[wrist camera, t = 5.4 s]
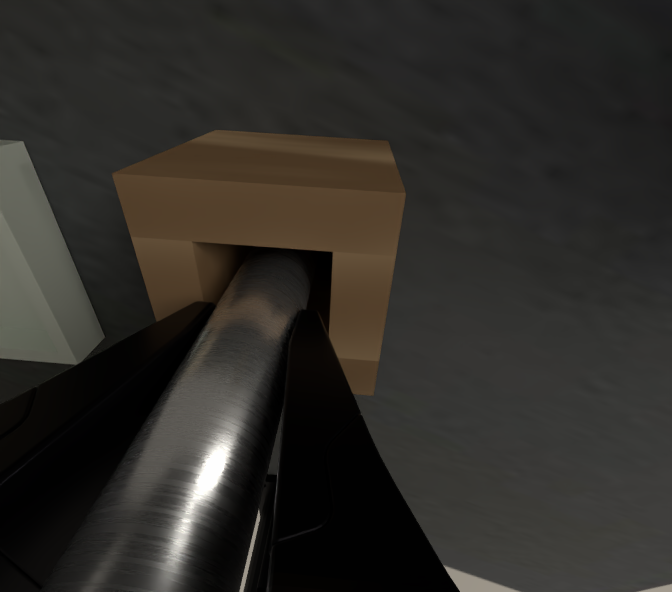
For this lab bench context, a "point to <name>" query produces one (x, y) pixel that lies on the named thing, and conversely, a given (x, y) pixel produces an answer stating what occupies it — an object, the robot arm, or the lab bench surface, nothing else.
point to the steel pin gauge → (199, 449)
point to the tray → (38, 273)
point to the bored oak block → (272, 226)
